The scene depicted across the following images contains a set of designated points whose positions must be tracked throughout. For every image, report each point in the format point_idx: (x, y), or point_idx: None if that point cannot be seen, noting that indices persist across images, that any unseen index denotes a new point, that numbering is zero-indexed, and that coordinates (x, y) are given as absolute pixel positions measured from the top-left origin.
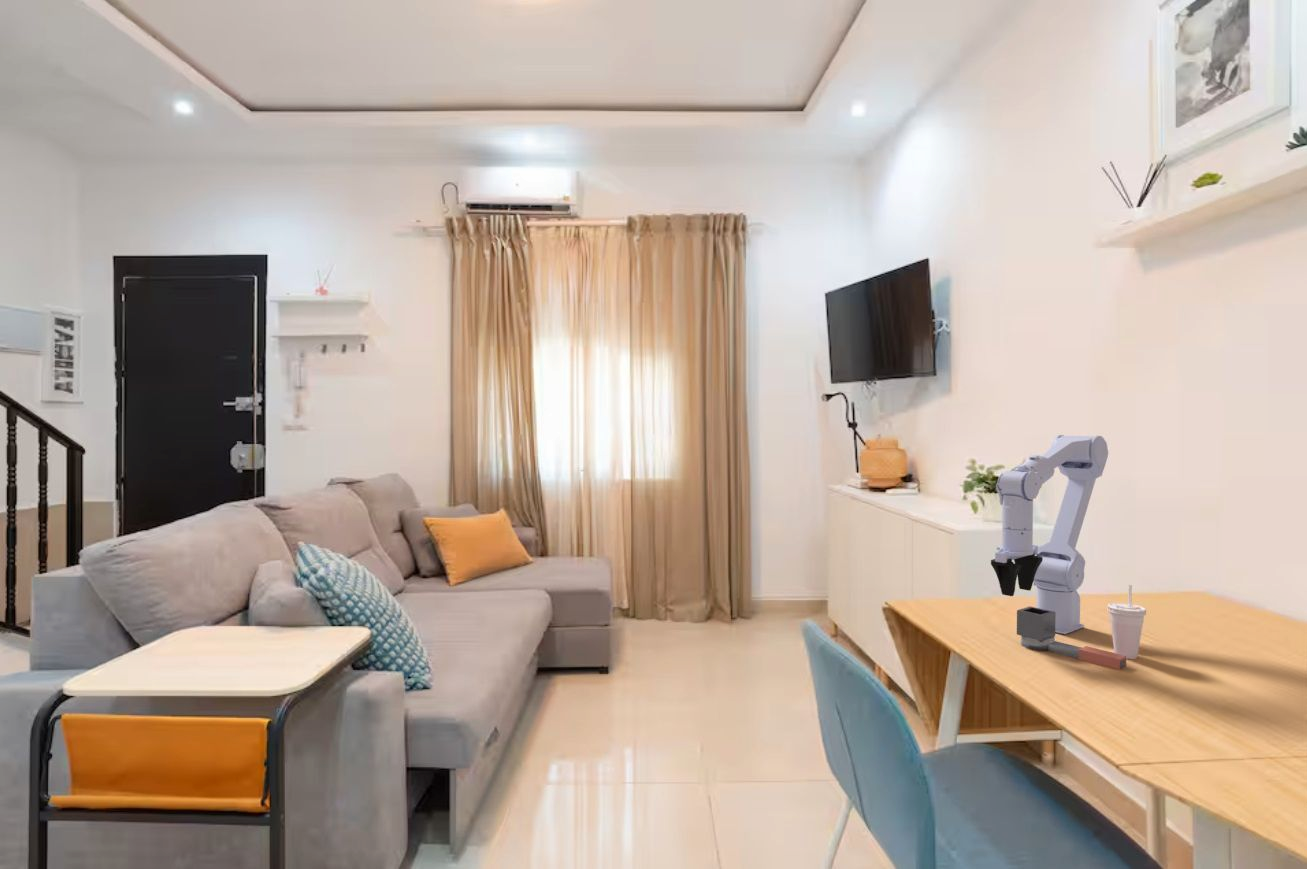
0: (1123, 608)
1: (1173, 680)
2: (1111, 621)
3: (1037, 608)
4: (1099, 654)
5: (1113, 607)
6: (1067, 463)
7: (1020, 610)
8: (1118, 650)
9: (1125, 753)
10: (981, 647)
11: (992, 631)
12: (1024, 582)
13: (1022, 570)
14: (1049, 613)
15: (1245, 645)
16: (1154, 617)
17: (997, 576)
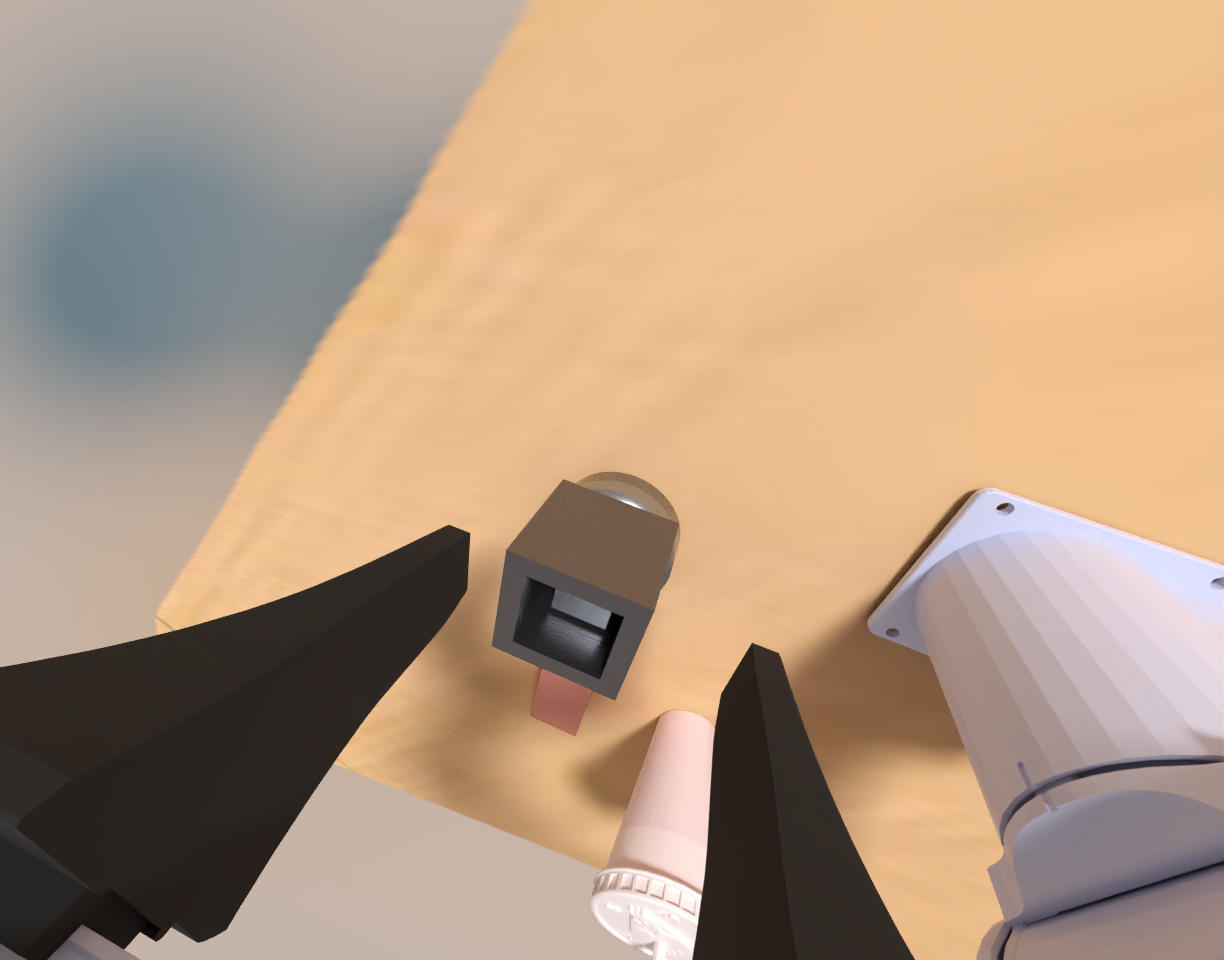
0: (627, 915)
1: (550, 756)
2: (645, 822)
3: (628, 640)
4: (537, 686)
5: (607, 897)
6: None
7: (516, 565)
8: (658, 731)
9: (179, 621)
10: (443, 337)
11: (747, 323)
12: (734, 732)
13: (744, 873)
14: (562, 674)
15: None
16: None
17: (271, 602)
